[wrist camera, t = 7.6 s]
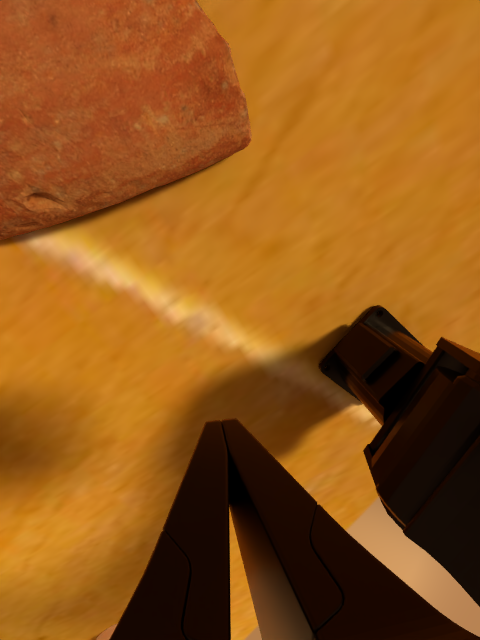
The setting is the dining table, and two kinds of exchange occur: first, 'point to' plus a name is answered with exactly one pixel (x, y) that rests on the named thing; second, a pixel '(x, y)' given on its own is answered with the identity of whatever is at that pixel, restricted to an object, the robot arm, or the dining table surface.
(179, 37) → the ceramic shard
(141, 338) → the dining table surface
